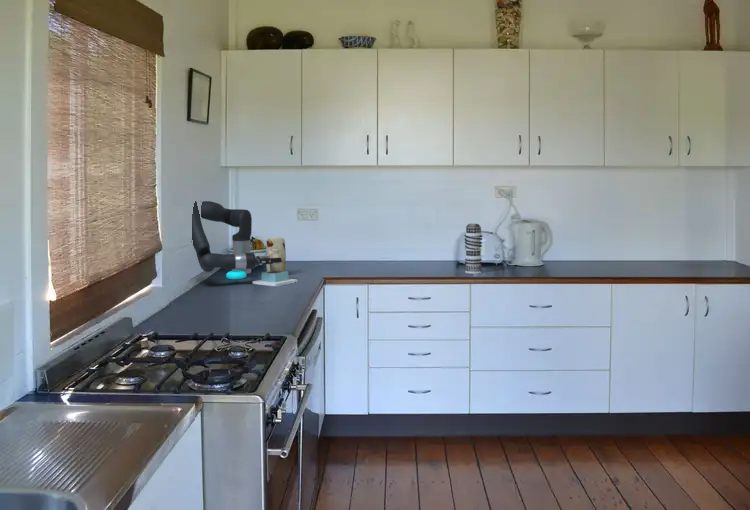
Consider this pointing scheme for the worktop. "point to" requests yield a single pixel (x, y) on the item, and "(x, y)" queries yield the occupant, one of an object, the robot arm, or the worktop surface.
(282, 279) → the socket block
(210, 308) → the worktop surface
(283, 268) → the food model
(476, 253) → the decorative candle
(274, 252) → the birch peg
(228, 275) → the donuts
